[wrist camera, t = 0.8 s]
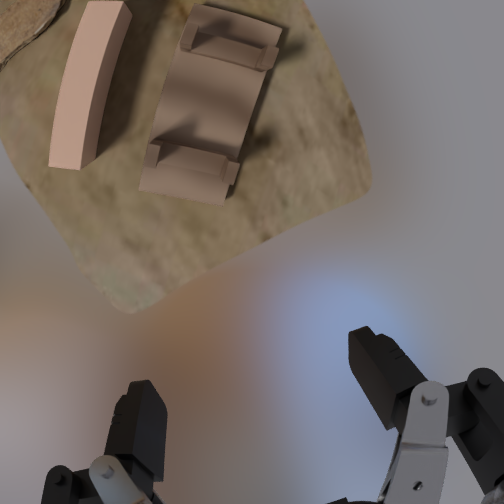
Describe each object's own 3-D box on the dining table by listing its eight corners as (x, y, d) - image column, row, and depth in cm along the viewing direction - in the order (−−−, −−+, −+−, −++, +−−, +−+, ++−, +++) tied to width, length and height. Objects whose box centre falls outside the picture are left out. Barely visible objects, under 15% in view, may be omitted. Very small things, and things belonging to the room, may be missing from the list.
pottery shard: (65, -36, 12) (-22, 56, 13) (59, -45, 10) (-32, 54, 11) (98, -11, 16) (5, 87, 18) (94, -19, 14) (-5, 86, 16)
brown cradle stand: (221, 201, 31) (227, 221, 26) (140, 185, 28) (131, 203, 23) (277, 31, 22) (296, 19, 18) (194, 7, 20) (196, -12, 15)
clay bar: (67, 155, 24) (48, 166, 20) (102, 14, 18) (88, 1, 13) (95, 159, 25) (79, 170, 21) (133, 16, 19) (123, 1, 14)
